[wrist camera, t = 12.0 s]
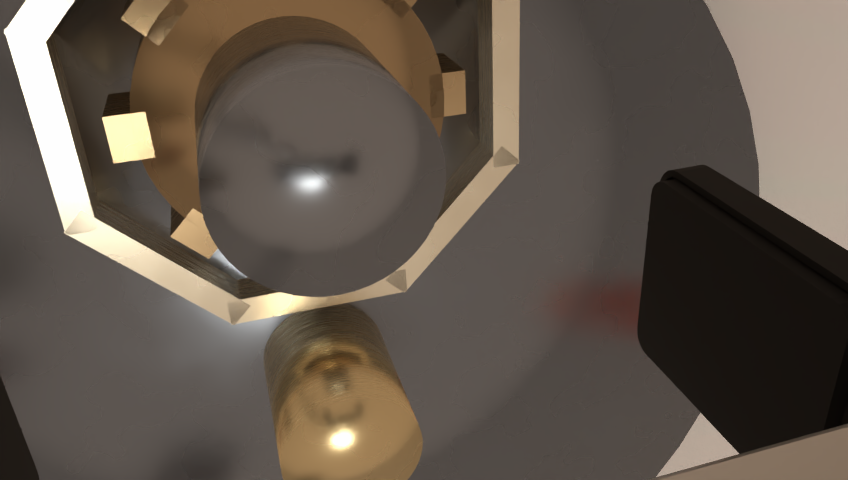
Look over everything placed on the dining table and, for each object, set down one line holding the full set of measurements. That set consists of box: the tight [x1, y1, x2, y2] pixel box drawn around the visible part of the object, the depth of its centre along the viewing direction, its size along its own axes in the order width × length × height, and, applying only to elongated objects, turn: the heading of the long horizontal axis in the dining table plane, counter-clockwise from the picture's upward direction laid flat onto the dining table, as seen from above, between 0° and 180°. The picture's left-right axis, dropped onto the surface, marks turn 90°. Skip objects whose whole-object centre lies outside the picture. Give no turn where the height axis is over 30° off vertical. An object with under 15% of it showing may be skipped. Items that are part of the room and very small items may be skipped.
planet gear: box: [102, 0, 466, 297], centre depth 19 cm, size 9×9×7 cm
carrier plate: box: [0, 0, 759, 480], centre depth 24 cm, size 33×33×6 cm
